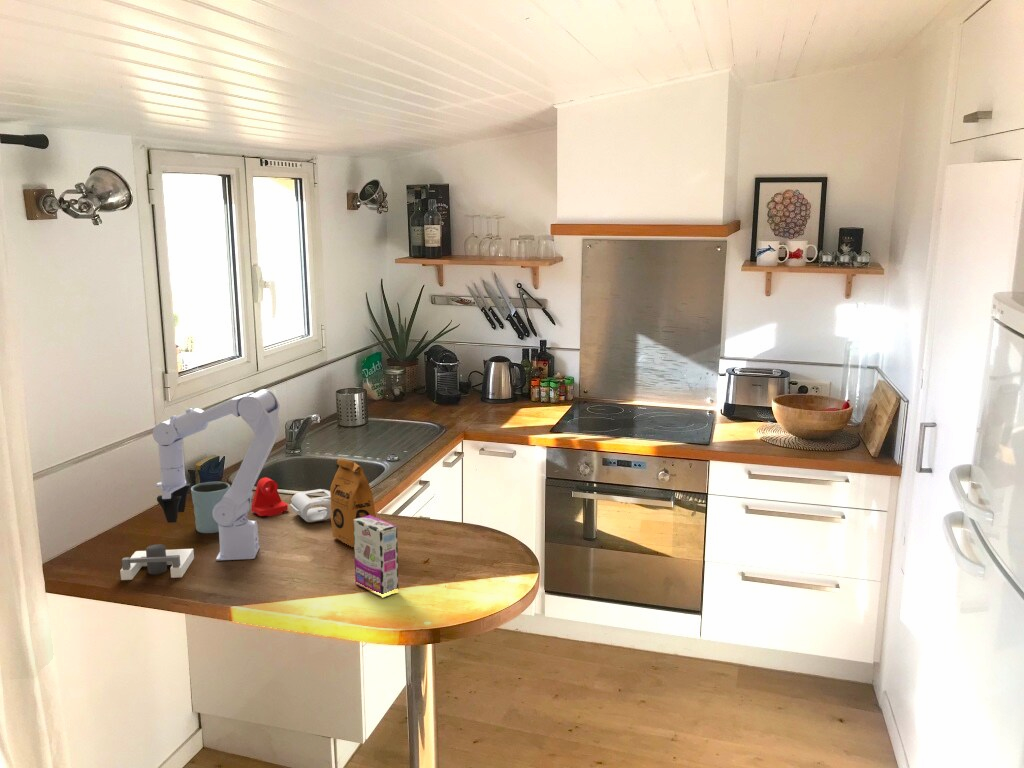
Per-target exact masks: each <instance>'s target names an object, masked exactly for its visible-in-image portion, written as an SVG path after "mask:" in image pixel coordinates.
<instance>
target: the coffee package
mask: <svg viewBox="0 0 1024 768" xmlns="http://www.w3.org/2000/svg"><path fill="white" fill-rule="evenodd" d="M336 464H337V465H338V468H337V471H336V472H335V475H334V478H333V480H332V482H331V485H330V487H329V488H330V489H329V491H330V495H331V518H330V521H331V531H332V534H331V535H332V537H334V538H335V539H336V540H338V541H341V542H342V543H343V544H344V543H345V544H344V545H346V544H347V545H346V546H348V545H349V547H350V546H351V547H350V548H352V547H354V519H357V518H360V517H364V516H368V515H371V516H373V517H376V518H377V514H376V508H375V502H374V497H373V491H372V489H371V485H370V484H369V481H368V480H367V476H366V475H365V473H364V470H363V468H362V466H360V465H359V464H357V463H356V462H355V461H351V460H348V459H344V458H339V459H337V461H336Z"/></svg>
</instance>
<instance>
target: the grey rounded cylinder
mask: <svg viewBox="0 0 1024 768" xmlns="http://www.w3.org/2000/svg"><path fill="white" fill-rule="evenodd" d="M166 550H167V549H166V545H165V544H162V543H160V544H159V543H158V544H152V545H149V546H147V547H146V548H145V551H146V556H147V557H166ZM146 568H147V573H148V574H149V575H160V574H163V573H166V572H167V571H168V565H167V562H147V566H146Z"/></svg>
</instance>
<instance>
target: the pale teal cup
mask: <svg viewBox="0 0 1024 768" xmlns="http://www.w3.org/2000/svg"><path fill="white" fill-rule="evenodd" d="M230 487H231V485H230V484H229V483H227V482H223V481H206V482H200V483H197V484H195V485H193V486H191V487H190V492H191V493H190V494H191V499H192V504H193V513H194V517H195V528H196V531H197V532H198V533H201V534H215V533H219V527H218V523H217V522H216V521H215V520H214V518H213V514H212V511H213V508H214V506H215V505H216V504H217V503H219V502H220V501H221V500H222V498H223V496H224V495H225V493H226V492H227V491H228V490H229V488H230Z"/></svg>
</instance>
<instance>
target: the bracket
mask: <svg viewBox="0 0 1024 768" xmlns="http://www.w3.org/2000/svg"><path fill="white" fill-rule="evenodd" d="M278 489H279V485H278V483H277V481H275V480H273V479H271V478H269V477H262V478H260V479H259V480H258V482H257V484H256V488H255V492H254V494H253V500H252V501H251V512H253V513H254V514H257V515H258V516H259V517H264V516H267V517H268V518H270V517H274V516H278V515H282V514H283V512H286V511H288V509H289V508H288V505H289V504H288V503H287V502H284V501H283V500H282V499H281V497H280V494H279V492H278Z"/></svg>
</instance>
